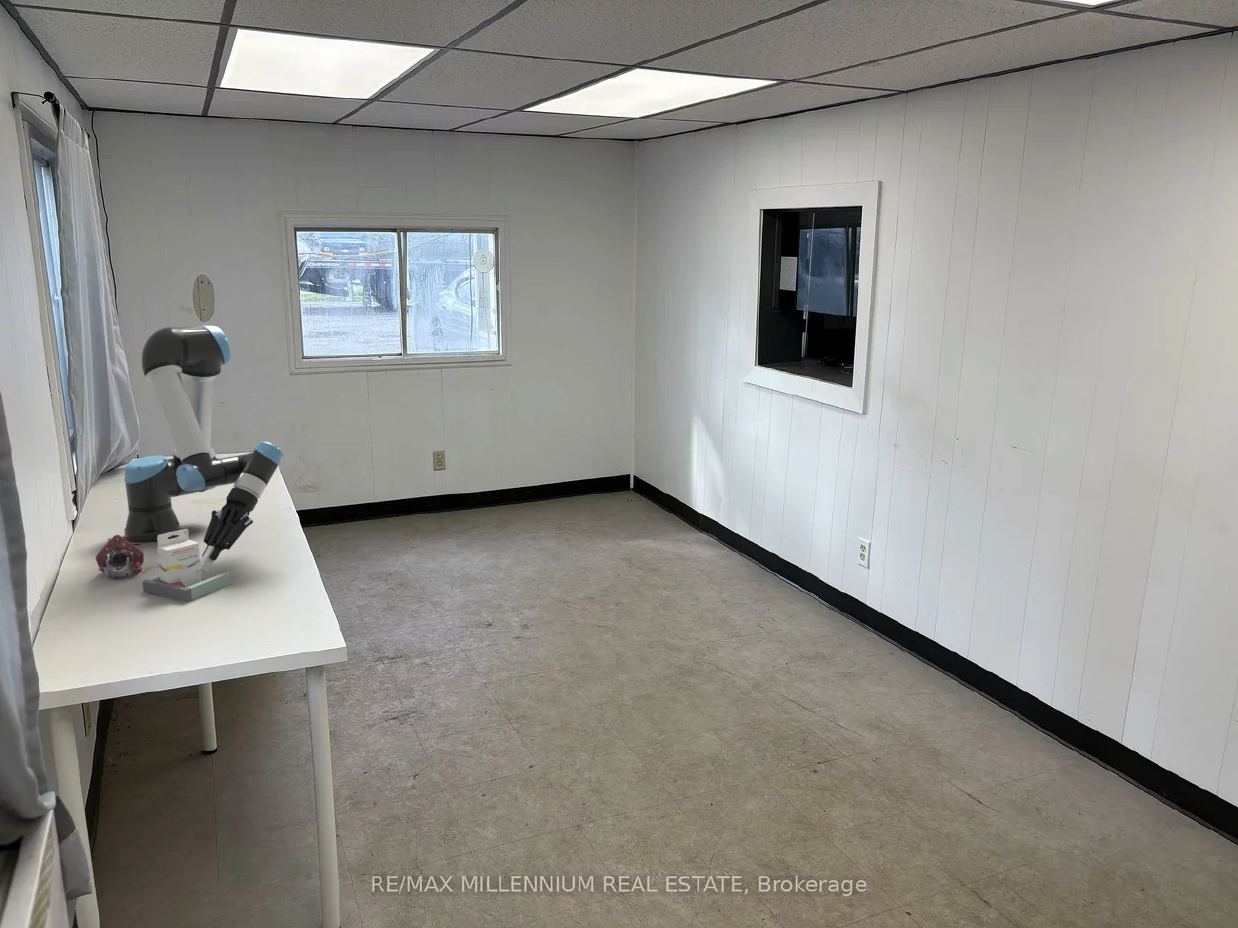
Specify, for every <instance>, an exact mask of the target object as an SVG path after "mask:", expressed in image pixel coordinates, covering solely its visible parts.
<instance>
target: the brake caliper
mask: <svg viewBox="0 0 1238 928" xmlns="http://www.w3.org/2000/svg"><path fill="white" fill-rule="evenodd" d="M108 554H109V556H107V555H108ZM144 556H145V554H144V552H143V551H142V550H141V549H140V548H139V547H137V546H136V545H134V544H133V543H131V542H130V541H129V540H127V539H126V538H125V537H123V536H122V535H120V534H115V535H113V536H112V537H109V538H107V542H106V544H104V546H103V547H102V549H101V550H100V551H99V552H98V553H97V554H96V556H95V560H96V564H97V566H98V571H99V572H101V573H103V574H104V575H106V577H107V579H108V580H112V581H113V580H121V579H129V578H132V576H133V575H134V574H135V577H140V576H142V575H143V573H145V569H146V567H145V565H143V564H144V563H145V562H144V560H145V557H144ZM135 572H136V573H135Z"/></svg>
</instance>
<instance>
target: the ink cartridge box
mask: <svg viewBox="0 0 1238 928" xmlns="http://www.w3.org/2000/svg"><path fill="white" fill-rule="evenodd" d="M172 535H176V536H177V537H171V536H172ZM168 537H171V538H168ZM189 537H190V536H189V529H188V528H184V529H181V530H178V531H174V532H169V533H165V534H161V535H158V536H157V541H156V542H157V547H156V550H157V561H158V570H159V571H158V572H159V575H160V582H163V583H168V584H172V585H177V586H182V587H186V588H187V587H189V586H192V585H194V584H197V583H199V582H202V581H203V580H202V571H201V569H200V560H201V559H200V546H199V542H197V541H194V540H192V539H189Z"/></svg>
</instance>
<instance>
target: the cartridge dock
mask: <svg viewBox="0 0 1238 928" xmlns="http://www.w3.org/2000/svg"><path fill="white" fill-rule="evenodd" d="M201 581H202V582H199V583H197V584H194V585H192V586H189V587H187V588H186V587H182V586H177V585H172V584H168V583H163V582H160V574H157V575H155V576H153V577H149V578H147V579H144V580H142V590H143V593H145V594H150V595H154V596H155V595H156V596H160V597H163V598H168V599H173V600H175V601H176V600H178V601H182V602H186V603H188V602H190V601H193V600H195V599H197V598H199V597H202V596H204V595H207V594H210V593H212V592H214V591H216V590H219V589H222V588H224V587H226V586H228V585H230V574H229V572H223V573H222V572H221V573H220V574H217V575H215V576H211V577H210V578H207V579H205V580H201Z"/></svg>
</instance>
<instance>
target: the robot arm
mask: <svg viewBox="0 0 1238 928" xmlns="http://www.w3.org/2000/svg"><path fill="white" fill-rule="evenodd" d="M141 353H142V354H141V361H140V362H141V369H142V372H143V375H144V377H145V380H146V381H148V382H150V383H151V384H152V387H153V389H154V393H155V395H156V398H157V400H158V404H159V406H160V409H161V412H162V414H163V417H164V418H165V419H164V420H165V421H166V422H165V423H166V425H167V428H168V430H169V432H170V435H171V436H170V437H172V441H173V443H174V446H175V448H174V449H173V454H172V455H173V456H172V458H167V457H166V456H165V455H160V454H159V455H157V454H156V455H152V456H151V455H147V456H144V457H139V458H136V459H134V460H132V461H129V462H128V463H127V464H126V465H125V467H124V480H123V481H124V483H125V489H126V491H125V492H126V500H127V508H128V509H127V510H128V515H127V518H126V523H125V528H124V530H123V531H124V533H123V534H124V539H126V540H127V541H129V542H130V541H131V542H139V543H140V542H141V543H145V542H148V543H149V542H155V541H156V542H158V541H157V536H158V535H161V534H165V533H169V532H174V531H178V530H182V529H181V523H180V522H179V519H178V517H177V515H176V513H175V511H174V509H173V505H172V498H175V497H181V496H185V495H192V494H196V493H204V492H207V491H210V490H213V489H215V488H216V487H218V486H219V487H221V486H225V485H232V484H233V487H232V488H231V489H230V491H229V492H228V495H227V497H225V498H226V503H225V504H224V505H223V506H222V508H221V510H214V509H213V510H212V511H211V518H210V522H209V524H208V527H207V530H206V532H205V535H204V538H203V543H204V544H206V547H205V549H204V551H203V553H202V555H201V559H200V569H201V573H209V570H210V569H211V567H212V565H213V564H214V562H215V561H216V560H217V559H218V558H219V556H220V554H221V552H223V551H224V550H230V549H231V548H232V546H234V544H235V543H236V541H238V539H239V538H240V537H241V536H242V534H243V533H244V531H245V530H246V529H247V528H249V526H251V525H253V523H254V521H253V519H252V518H251V517H250V516H249V515H250V513H251V512H253V511H254V509H255V508H256V505H257V504H258V503H259V500H258V499H260V498H261V496H262V495H263V493H264V491H265V489H266V487H267V486H268V484H269V483H270V480H271V478H272V477H273V475H274V473H275V472H276V470H277V469H278V466H280V463H281V460H282V459H283V457H284V452H283V451H282V449H281V448H280V447H278V446H277V445H276V444H273V443H271V442H269V441H265V440H264V441H260V442H258V443H257V445H256V446H255V447H254V450H253V451H252V452H249V453H245V454H239V455H233V456H228V457H221V458H220V456H219V455H218V454H216V451H215V450H214V449H213V448H212V447H211V440H212V425H213V422H212V421H213V412H214V411H213V409H214V407H213V406H214V395H215V394H214V393H215V379H216V377H218V376H219V375H221V372H222V366H225V365H226V364H228V363H229V362H230V360H231V353H232V352H231V346H230V344H229V340H228V338H227V336H226V334H225V332H224V331H223V330H222V328H220V327H218V326H216V325H205V324H204V325H203V324H201V325H196V326H195V325H189V326H176V327H174V326H173V327H172V326H168V327H162V328H160V329H158V330H156V331H154V332H153V333H152V334H151V335H150V336H149V337H148V338H147V340H146V341H145V344H144V345H143V348H142V352H141ZM181 375H182V377H181ZM175 536H177V535H172V536H171V537H168V539H172V538H175Z"/></svg>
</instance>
